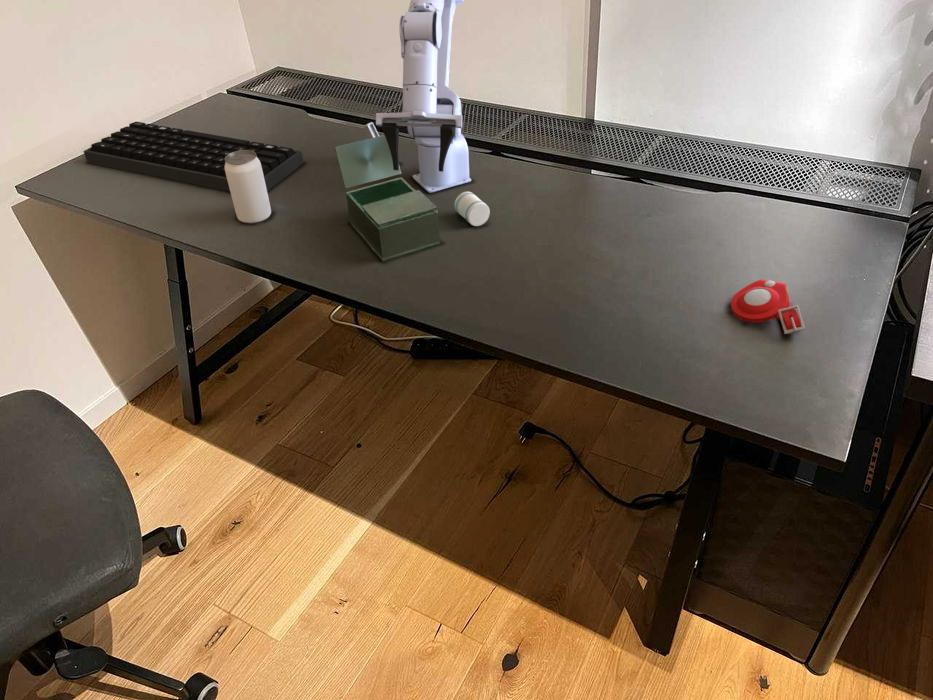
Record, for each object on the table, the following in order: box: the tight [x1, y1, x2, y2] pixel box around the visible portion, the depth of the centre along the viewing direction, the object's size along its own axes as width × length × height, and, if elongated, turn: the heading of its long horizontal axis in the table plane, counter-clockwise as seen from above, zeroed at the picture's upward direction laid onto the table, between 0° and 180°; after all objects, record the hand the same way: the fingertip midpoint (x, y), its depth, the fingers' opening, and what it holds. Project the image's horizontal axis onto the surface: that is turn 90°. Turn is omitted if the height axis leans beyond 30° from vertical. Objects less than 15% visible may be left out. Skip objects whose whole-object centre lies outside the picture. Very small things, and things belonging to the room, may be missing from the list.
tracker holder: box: [730, 278, 806, 335], centre depth 114 cm, size 12×4×10 cm
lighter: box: [363, 121, 380, 139], centre depth 158 cm, size 7×2×8 cm, turn 58°
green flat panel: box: [334, 134, 402, 190], centre depth 137 cm, size 7×11×1 cm
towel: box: [454, 191, 491, 227], centre depth 139 cm, size 4×6×4 cm
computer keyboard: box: [83, 121, 304, 192], centre depth 162 cm, size 45×16×4 cm, turn 66°
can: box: [224, 150, 272, 224], centre depth 141 cm, size 6×6×12 cm
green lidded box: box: [345, 176, 441, 263], centre depth 135 cm, size 15×11×7 cm
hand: (418, 170), depth 130 cm, fingers open, 7 cm apart
